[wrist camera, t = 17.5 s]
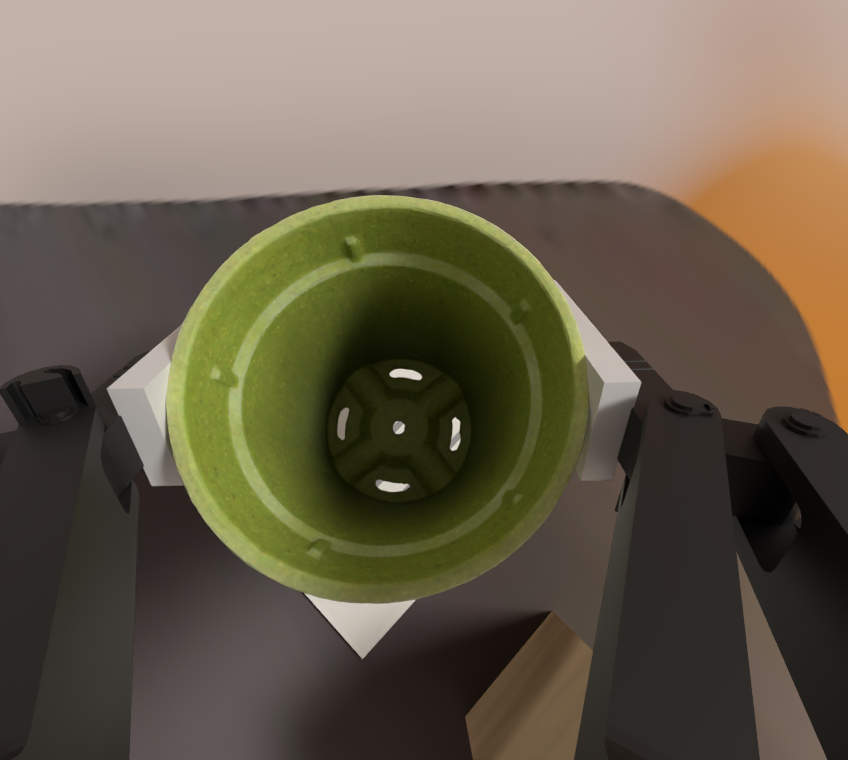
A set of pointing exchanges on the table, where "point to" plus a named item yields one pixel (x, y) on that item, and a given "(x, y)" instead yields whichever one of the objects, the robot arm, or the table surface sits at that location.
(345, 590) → the plant pot
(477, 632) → the table surface
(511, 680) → the oak block
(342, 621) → the letter
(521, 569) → the table surface
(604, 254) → the table surface
